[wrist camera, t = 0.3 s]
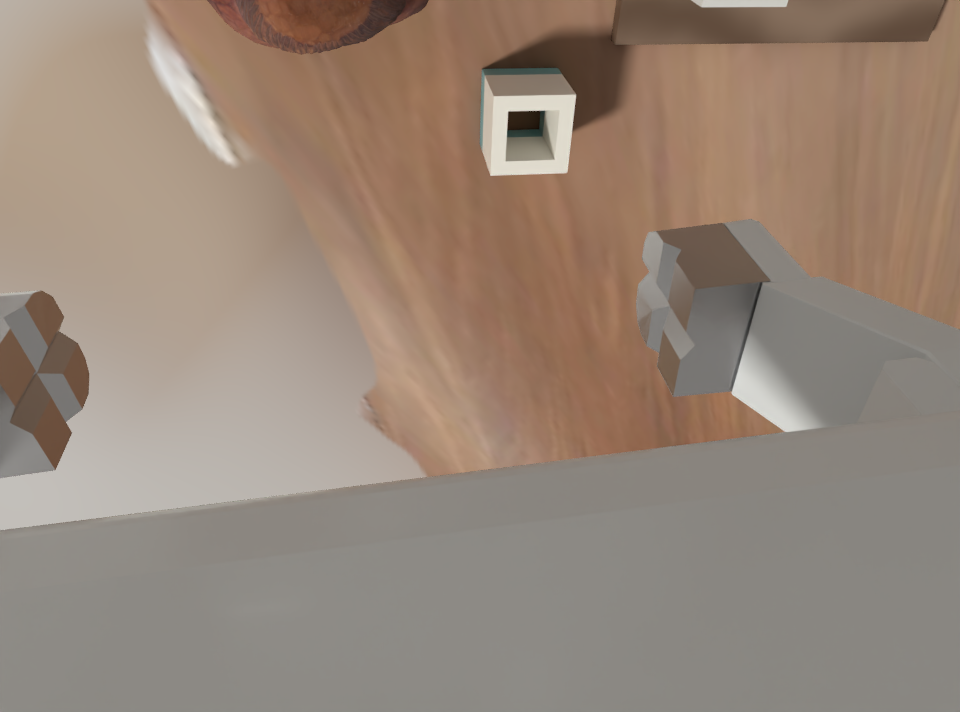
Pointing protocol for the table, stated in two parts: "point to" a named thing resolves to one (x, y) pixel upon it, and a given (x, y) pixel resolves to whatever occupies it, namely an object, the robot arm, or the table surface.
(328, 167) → the table surface
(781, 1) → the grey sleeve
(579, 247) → the table surface
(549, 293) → the table surface
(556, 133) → the cream sleeve
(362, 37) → the brown leather case
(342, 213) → the table surface
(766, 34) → the pin board
